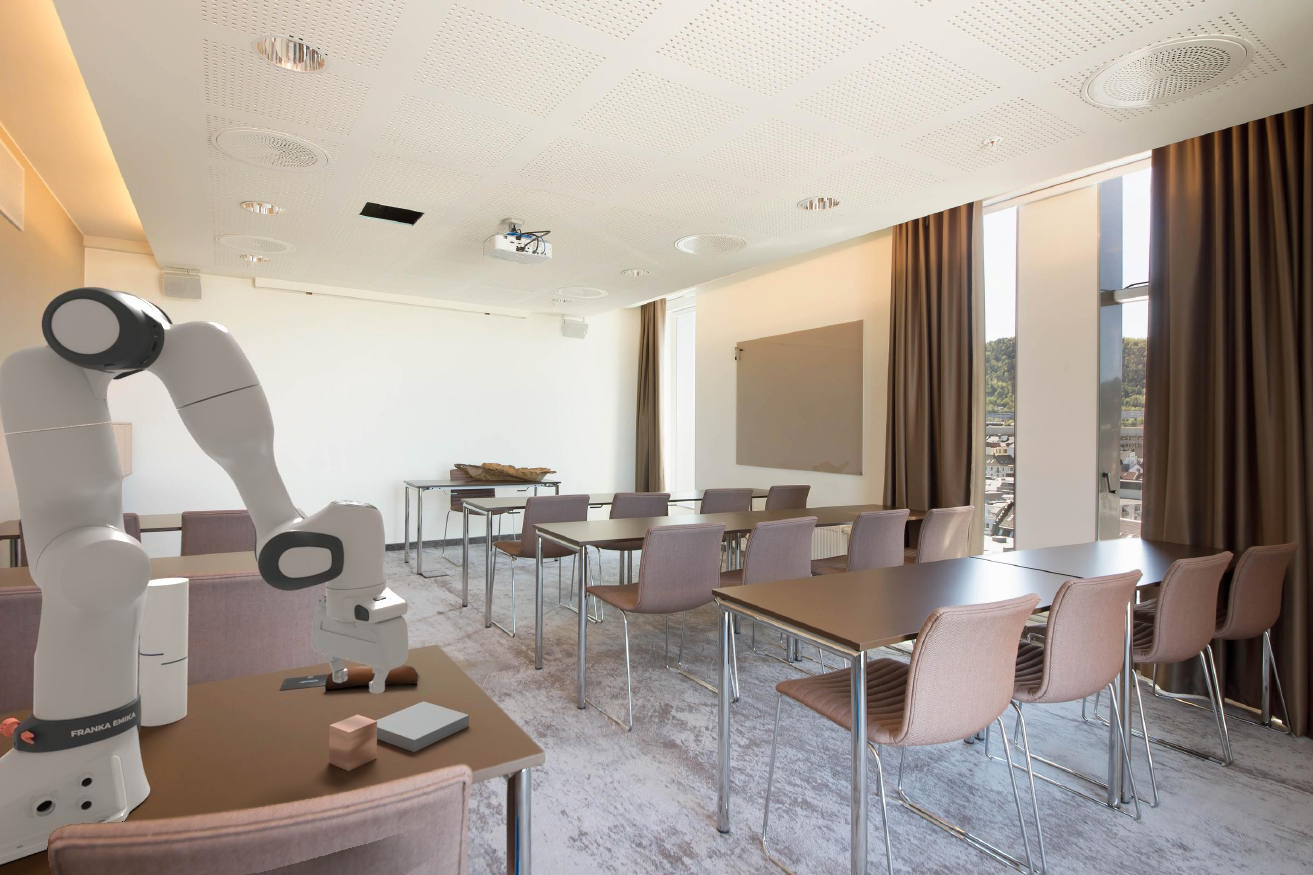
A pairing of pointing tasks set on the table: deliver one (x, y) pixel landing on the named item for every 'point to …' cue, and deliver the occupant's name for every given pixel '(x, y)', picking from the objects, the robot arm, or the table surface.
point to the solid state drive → (304, 682)
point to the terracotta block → (352, 742)
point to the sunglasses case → (366, 675)
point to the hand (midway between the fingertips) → (358, 686)
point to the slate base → (420, 725)
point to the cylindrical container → (164, 652)
